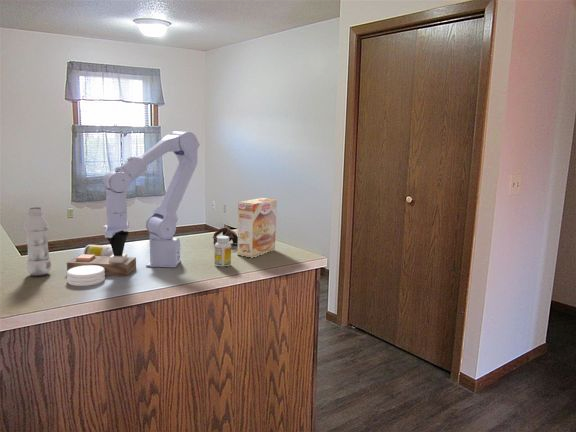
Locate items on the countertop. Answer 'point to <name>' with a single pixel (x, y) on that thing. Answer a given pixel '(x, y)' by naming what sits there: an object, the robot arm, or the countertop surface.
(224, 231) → the dark brown tangled clump
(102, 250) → the supplement bottle
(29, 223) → the plastic bottle
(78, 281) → the coaster
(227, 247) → the supplement bottle
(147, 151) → the robot arm
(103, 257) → the switch box
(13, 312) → the countertop surface
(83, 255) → the key terracotta
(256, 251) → the coffeecake box
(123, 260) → the key offwhite
